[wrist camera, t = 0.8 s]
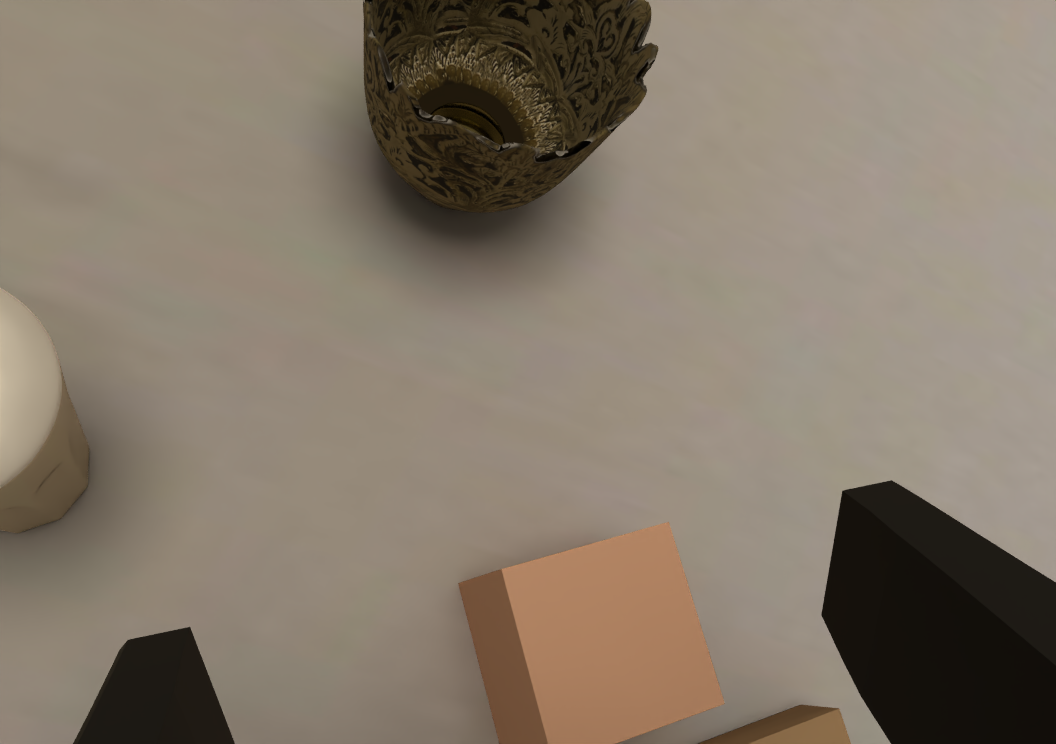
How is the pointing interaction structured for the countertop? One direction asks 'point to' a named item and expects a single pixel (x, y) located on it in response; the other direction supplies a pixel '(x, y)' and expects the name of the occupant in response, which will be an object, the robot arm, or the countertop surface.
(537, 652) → the block
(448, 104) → the cup
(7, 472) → the milkshake
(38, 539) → the countertop surface
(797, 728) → the base slab
